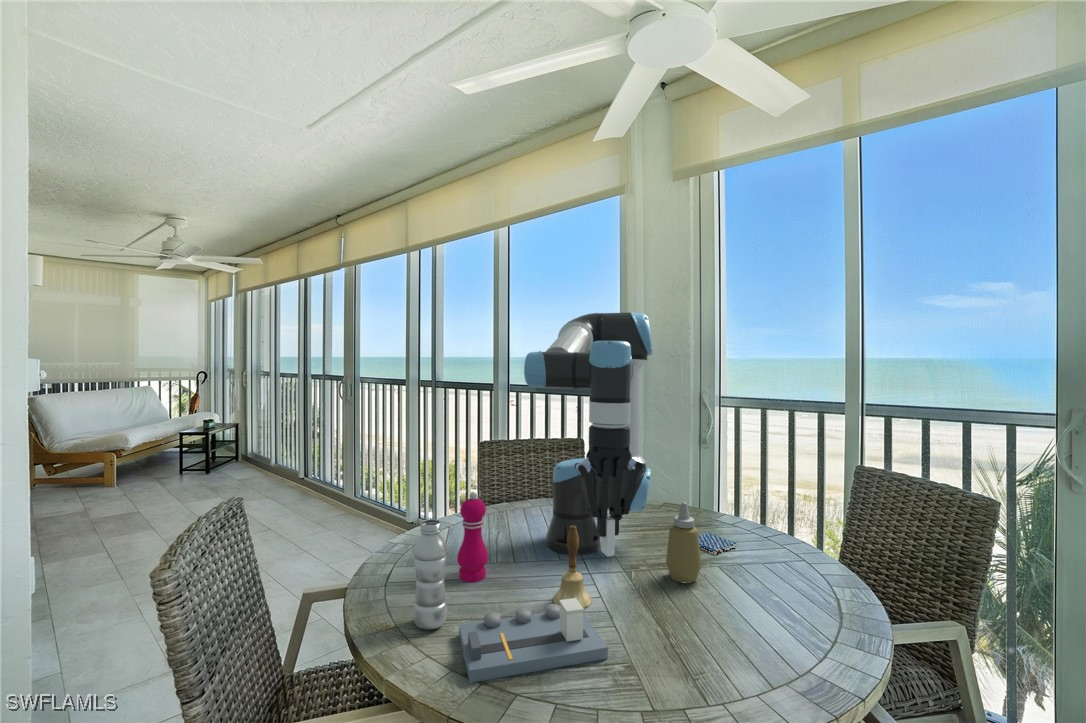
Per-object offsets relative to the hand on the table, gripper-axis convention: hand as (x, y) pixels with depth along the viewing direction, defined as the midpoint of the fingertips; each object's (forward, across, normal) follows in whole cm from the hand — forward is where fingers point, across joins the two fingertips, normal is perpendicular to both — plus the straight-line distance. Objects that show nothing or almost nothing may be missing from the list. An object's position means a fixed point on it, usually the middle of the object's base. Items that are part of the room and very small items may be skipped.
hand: (607, 553), depth 91 cm
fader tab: (+14, +7, 0) cm, 16 cm away
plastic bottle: (+17, +31, -14) cm, 38 cm away
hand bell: (+17, +1, -16) cm, 23 cm away
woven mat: (+17, -47, -35) cm, 61 cm away
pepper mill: (+16, +20, -33) cm, 42 cm away
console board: (+16, +14, -2) cm, 22 cm away
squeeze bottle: (+16, -28, -19) cm, 38 cm away
